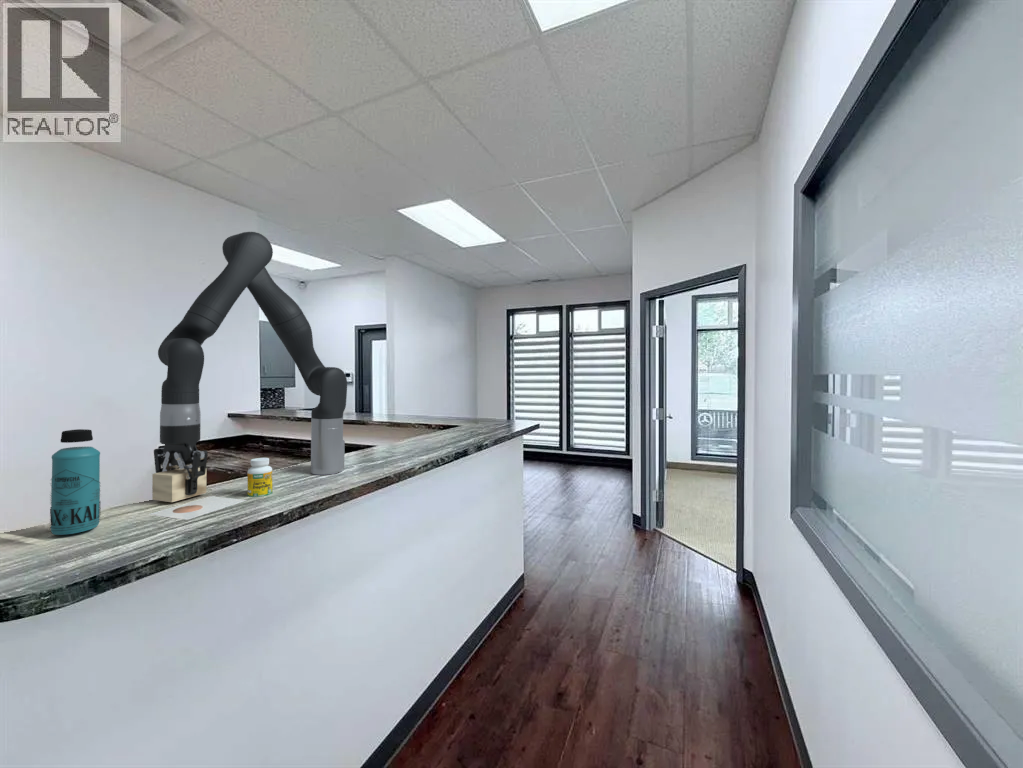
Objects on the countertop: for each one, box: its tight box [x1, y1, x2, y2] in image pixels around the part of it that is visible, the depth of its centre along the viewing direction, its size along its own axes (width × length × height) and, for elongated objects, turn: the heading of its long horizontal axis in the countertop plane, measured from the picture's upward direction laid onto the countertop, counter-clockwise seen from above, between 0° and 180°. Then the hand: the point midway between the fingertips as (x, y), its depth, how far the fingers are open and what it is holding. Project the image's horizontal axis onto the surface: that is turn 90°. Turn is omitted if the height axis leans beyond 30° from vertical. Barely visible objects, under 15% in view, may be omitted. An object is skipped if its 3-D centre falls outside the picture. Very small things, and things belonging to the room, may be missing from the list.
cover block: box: [151, 467, 208, 503], centre depth 98 cm, size 8×6×6 cm
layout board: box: [148, 495, 248, 521], centre depth 92 cm, size 14×11×1 cm
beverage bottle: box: [49, 428, 102, 536], centre depth 77 cm, size 6×7×20 cm
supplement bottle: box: [246, 457, 273, 498], centre depth 103 cm, size 5×5×10 cm
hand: (180, 492), depth 98 cm, fingers closed on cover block, 6 cm apart
